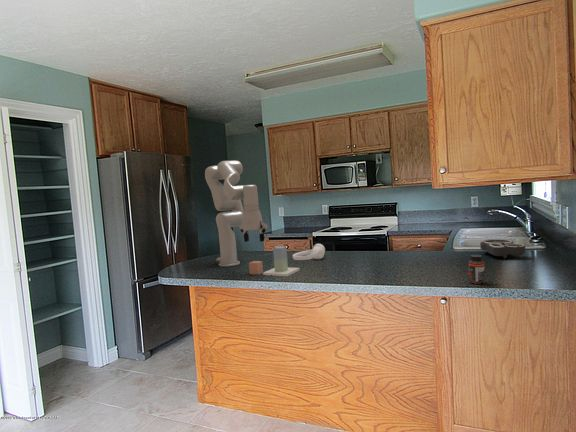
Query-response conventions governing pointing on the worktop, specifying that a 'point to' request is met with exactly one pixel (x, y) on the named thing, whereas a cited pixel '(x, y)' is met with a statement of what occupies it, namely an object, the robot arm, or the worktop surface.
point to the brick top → (256, 267)
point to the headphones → (311, 253)
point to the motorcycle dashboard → (502, 247)
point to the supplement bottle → (476, 270)
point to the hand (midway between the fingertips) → (254, 241)
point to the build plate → (286, 273)
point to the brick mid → (279, 253)
